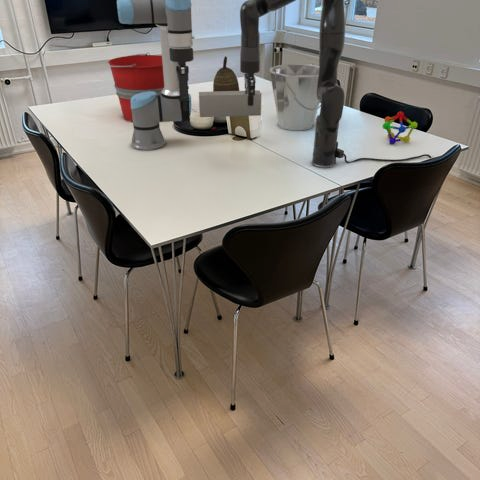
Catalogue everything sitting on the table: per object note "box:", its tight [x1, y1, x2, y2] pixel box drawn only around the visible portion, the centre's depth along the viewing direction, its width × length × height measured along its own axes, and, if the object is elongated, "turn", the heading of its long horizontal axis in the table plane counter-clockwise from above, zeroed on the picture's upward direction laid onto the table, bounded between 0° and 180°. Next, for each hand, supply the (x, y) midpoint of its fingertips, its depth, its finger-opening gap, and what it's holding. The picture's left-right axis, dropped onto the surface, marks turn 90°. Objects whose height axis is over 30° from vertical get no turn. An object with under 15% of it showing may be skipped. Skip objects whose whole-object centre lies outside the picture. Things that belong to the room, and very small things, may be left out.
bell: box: [212, 56, 240, 92], centre depth 278 cm, size 19×26×20 cm
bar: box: [198, 89, 262, 118], centre depth 177 cm, size 24×6×9 cm, turn 96°
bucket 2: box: [269, 63, 321, 131], centre depth 226 cm, size 30×30×28 cm
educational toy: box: [382, 110, 418, 145], centre depth 207 cm, size 16×13×15 cm
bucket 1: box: [105, 52, 164, 123], centre depth 239 cm, size 35×35×30 cm
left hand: (185, 114), depth 151 cm, fingers open, 13 cm apart
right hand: (249, 103), depth 178 cm, fingers closed on bar, 5 cm apart
